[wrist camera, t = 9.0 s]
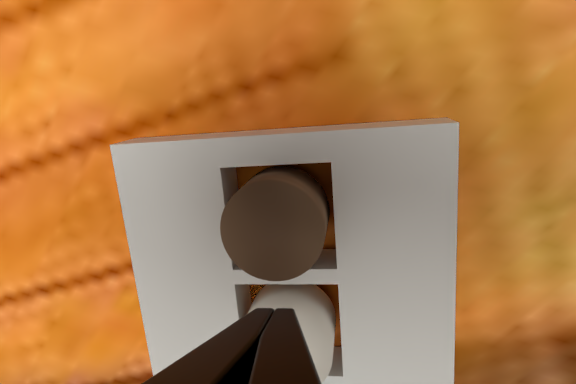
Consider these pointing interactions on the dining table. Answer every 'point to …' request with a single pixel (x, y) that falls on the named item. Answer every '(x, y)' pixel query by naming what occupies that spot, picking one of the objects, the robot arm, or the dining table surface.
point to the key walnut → (276, 224)
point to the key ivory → (306, 317)
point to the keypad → (332, 262)
